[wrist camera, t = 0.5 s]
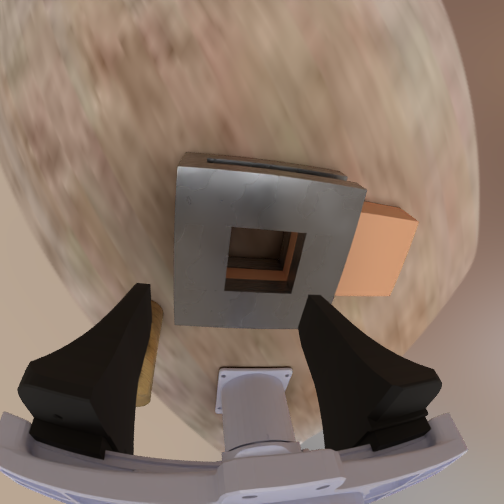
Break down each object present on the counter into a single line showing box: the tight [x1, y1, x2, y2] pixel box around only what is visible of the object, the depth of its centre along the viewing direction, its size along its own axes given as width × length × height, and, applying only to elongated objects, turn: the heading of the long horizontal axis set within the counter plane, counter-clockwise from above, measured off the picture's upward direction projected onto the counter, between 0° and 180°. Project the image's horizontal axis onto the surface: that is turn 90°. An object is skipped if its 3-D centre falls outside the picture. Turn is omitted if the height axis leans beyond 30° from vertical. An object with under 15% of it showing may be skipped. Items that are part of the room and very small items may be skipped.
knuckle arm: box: [226, 202, 419, 296], centre depth 21 cm, size 7×16×3 cm, turn 82°
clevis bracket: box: [174, 152, 367, 329], centre depth 20 cm, size 11×11×4 cm
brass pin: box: [136, 300, 163, 407], centre depth 21 cm, size 3×3×9 cm
